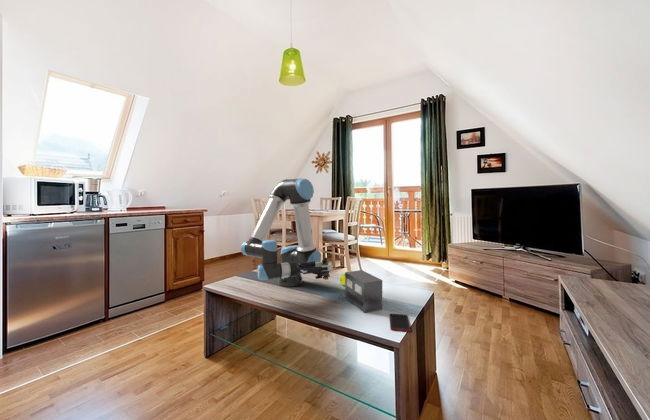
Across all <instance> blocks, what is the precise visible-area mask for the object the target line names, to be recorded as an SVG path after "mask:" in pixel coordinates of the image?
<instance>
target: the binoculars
mask: <svg viewBox="0 0 650 420" xmlns="http://www.w3.org/2000/svg"><path fill="white" fill-rule="evenodd" d="M321 262H323V264H322V265H321V266H325V265H329V261H328V257H323V259H321ZM312 274H313V275H316V276H315V280H318V279H323V280H327V281H328V280H329V278H330V276H331V275H330V270H329V271H322V273H312Z"/></svg>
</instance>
